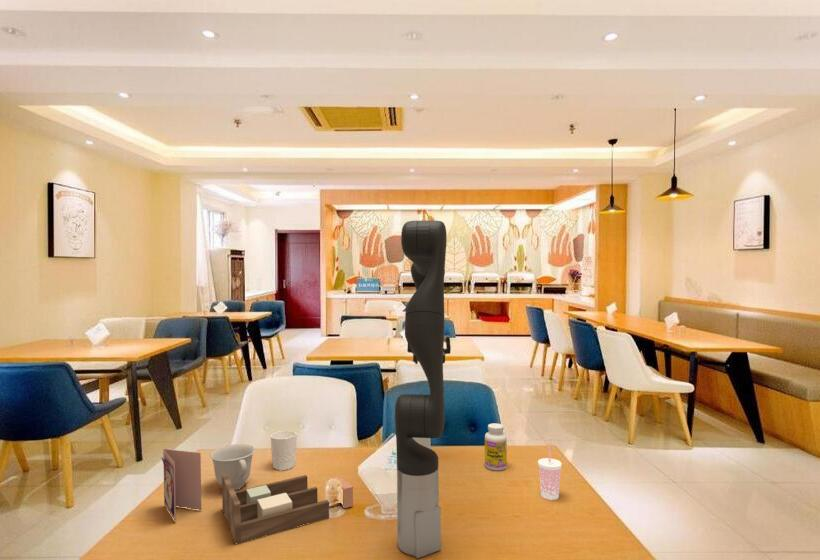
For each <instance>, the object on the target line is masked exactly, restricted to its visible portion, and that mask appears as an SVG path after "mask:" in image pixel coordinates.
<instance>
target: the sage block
mask: <svg viewBox="0 0 820 560" xmlns="http://www.w3.org/2000/svg"><path fill="white" fill-rule="evenodd" d="M263 485H264V486H261V485H258V486H259V487H256V486H254V487H255V488H252V487H250V488H251V489H248V488H245V489H246V495H247V504H249V503H253V502H257V500H258V499H262V498H266V497H270V496H271V492H270V490H269V489H268V487H267V485H265V484H263Z"/></svg>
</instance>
